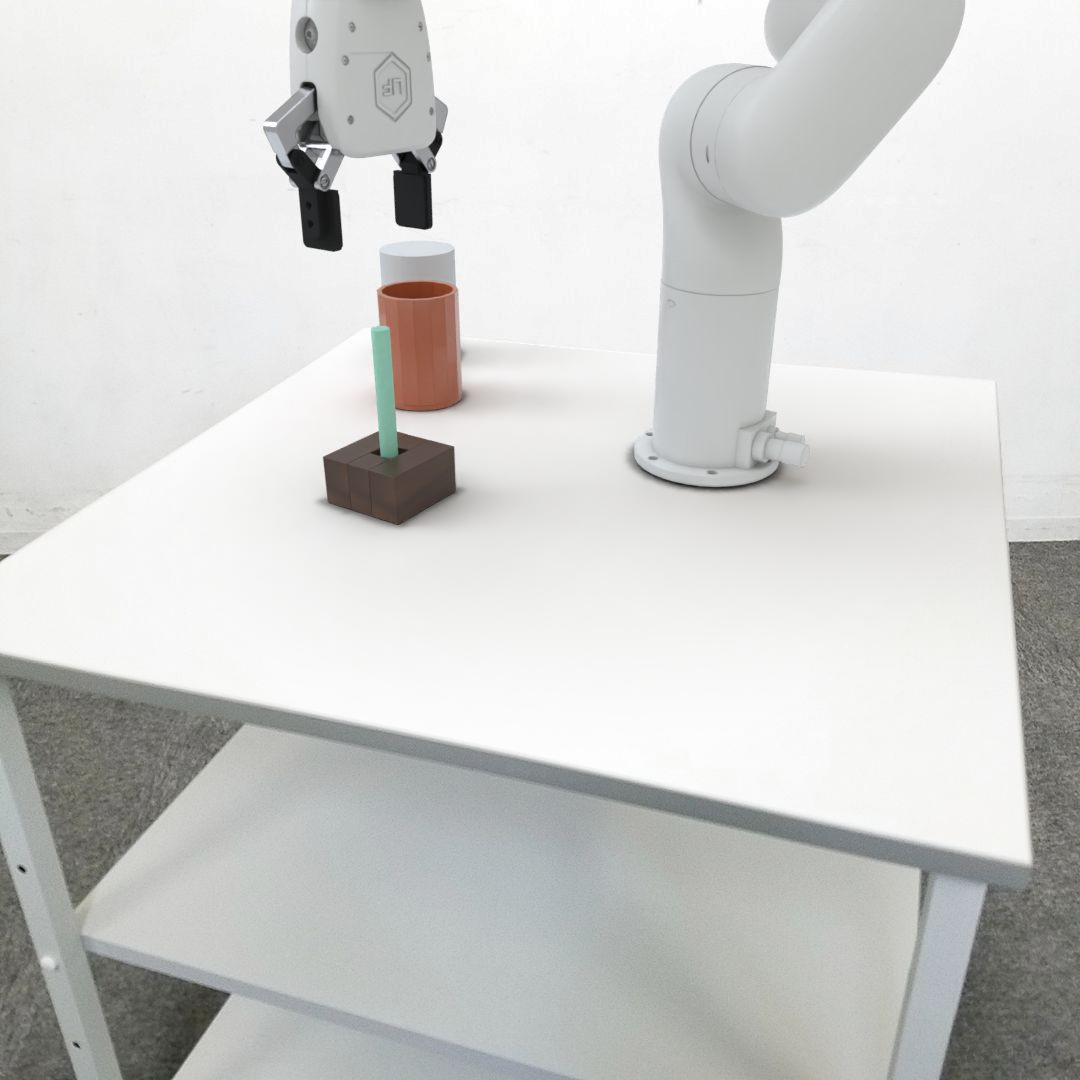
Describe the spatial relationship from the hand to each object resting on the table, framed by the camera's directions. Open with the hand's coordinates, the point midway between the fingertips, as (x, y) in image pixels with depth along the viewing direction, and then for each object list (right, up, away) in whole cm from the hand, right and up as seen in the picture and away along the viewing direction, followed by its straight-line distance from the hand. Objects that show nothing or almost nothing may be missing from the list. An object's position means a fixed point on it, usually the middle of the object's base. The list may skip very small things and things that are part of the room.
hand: (370, 237), depth 75 cm
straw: (0, -18, +9) cm, 21 cm away
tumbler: (0, -7, +31) cm, 31 cm away
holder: (0, -18, +9) cm, 21 cm away
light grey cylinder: (-1, -1, +43) cm, 43 cm away
